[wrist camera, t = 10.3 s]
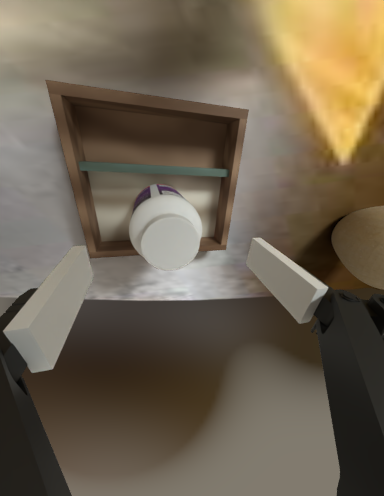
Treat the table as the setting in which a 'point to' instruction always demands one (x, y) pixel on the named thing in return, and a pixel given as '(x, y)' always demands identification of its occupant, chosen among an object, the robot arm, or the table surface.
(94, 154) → the crate
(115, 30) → the table surface
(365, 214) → the vase
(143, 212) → the pill bottle
